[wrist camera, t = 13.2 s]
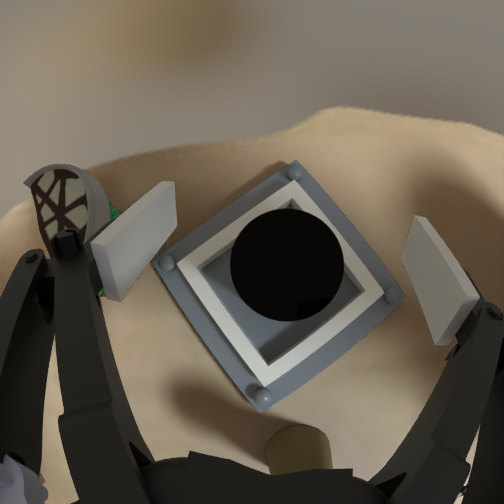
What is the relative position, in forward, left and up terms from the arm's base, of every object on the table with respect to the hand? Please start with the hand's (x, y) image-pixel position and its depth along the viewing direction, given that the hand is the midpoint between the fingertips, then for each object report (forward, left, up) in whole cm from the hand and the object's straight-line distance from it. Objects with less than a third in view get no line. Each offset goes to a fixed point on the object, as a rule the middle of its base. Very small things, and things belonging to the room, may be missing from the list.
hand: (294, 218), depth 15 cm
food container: (+11, +12, -11) cm, 19 cm away
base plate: (-2, +2, -11) cm, 11 cm away
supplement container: (-2, +2, -9) cm, 10 cm away
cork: (-16, +10, -11) cm, 21 cm away
